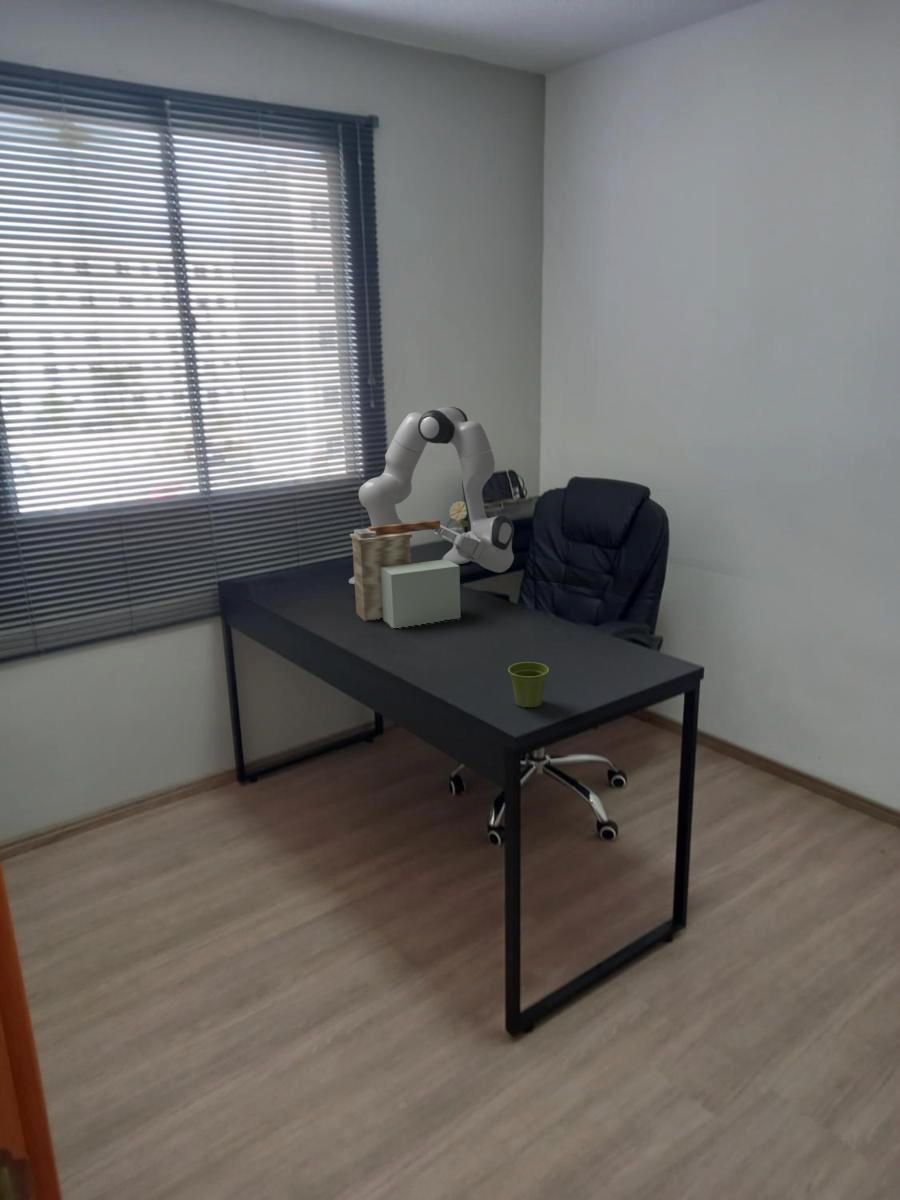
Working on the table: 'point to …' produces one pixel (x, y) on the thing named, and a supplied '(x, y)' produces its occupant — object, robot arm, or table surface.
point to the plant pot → (528, 682)
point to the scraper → (396, 528)
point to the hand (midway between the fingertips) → (435, 528)
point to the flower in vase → (457, 513)
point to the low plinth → (420, 593)
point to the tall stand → (376, 568)
